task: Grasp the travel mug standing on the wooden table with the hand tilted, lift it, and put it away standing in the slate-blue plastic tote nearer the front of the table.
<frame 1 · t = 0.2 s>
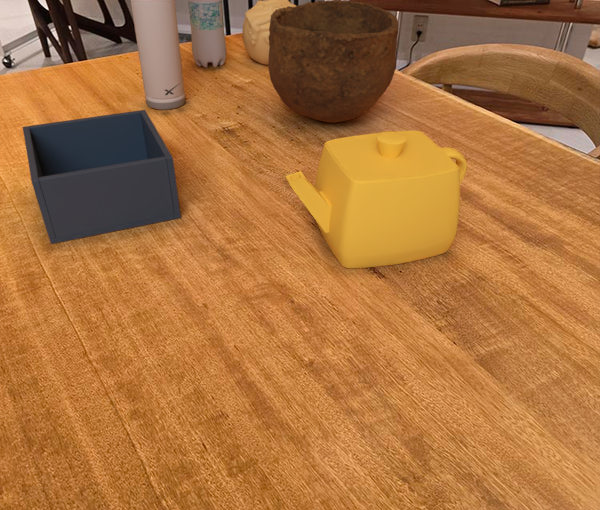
teapot: (372, 237, 66), on the table
bottle: (210, 65, 111), on the table
tote: (107, 200, 71), on the table
sculpture: (273, 61, 113), on the table
travel mug: (167, 104, 96), on the table
bowl: (329, 119, 92), on the table
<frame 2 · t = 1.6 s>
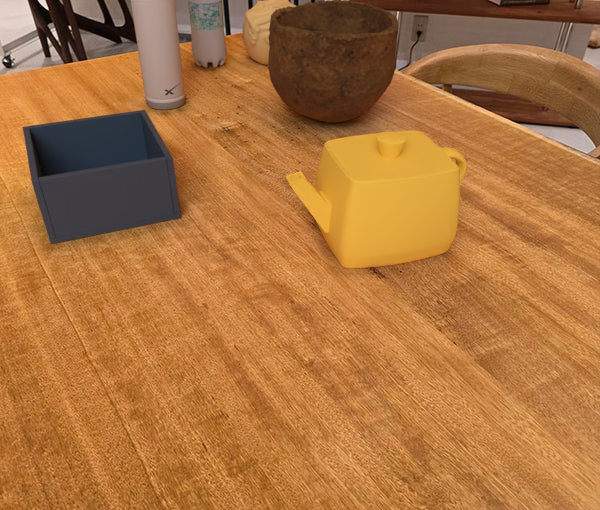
nothing on the table moved.
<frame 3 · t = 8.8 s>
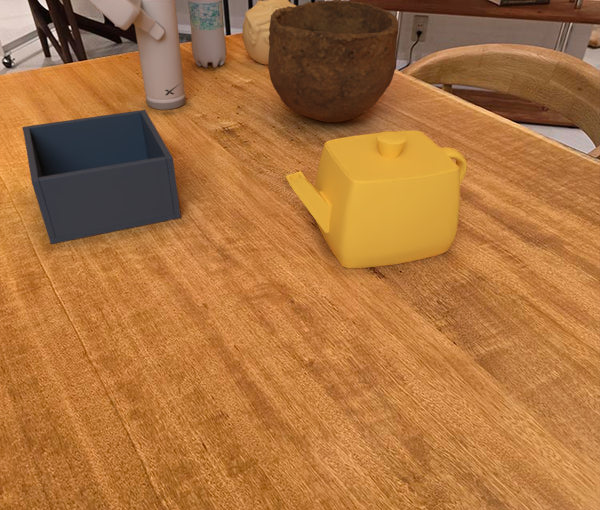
hand: (162, 27, 88), 11 cm above the table, tool tilted 45°, fingers closed on travel mug, 6 cm apart
travel mug: (167, 104, 96), on the table, touching gripper
everything else where it was.
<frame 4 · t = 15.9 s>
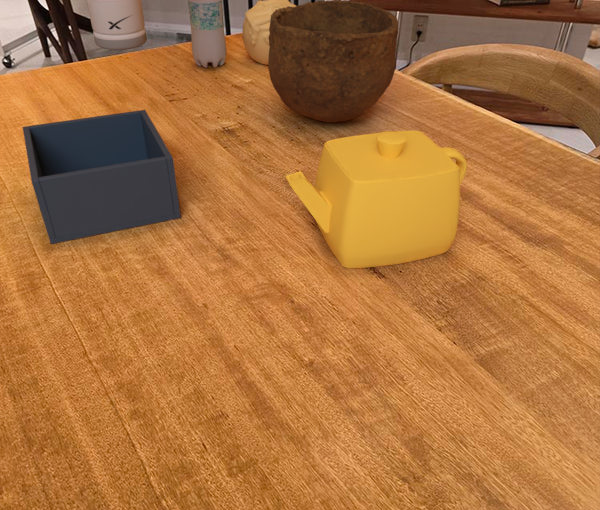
travel mug: (123, 44, 74), point 14 cm above the table, touching gripper
everything else where it was.
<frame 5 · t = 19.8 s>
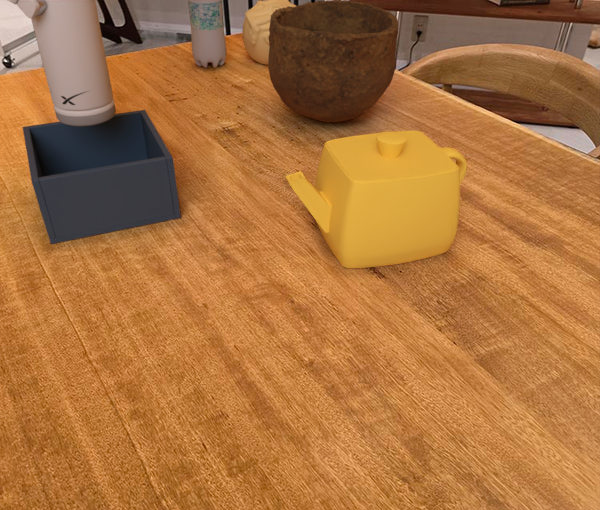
hand: (68, 3, 57), 22 cm above the table, tool tilted 45°, fingers closed on travel mug, 6 cm apart
travel mug: (88, 117, 65), point 10 cm above the table, touching gripper
everything else where it was.
when the fingers open (12 cm above the table, at t = 23.1 s): travel mug stays where it is, resting on tote.
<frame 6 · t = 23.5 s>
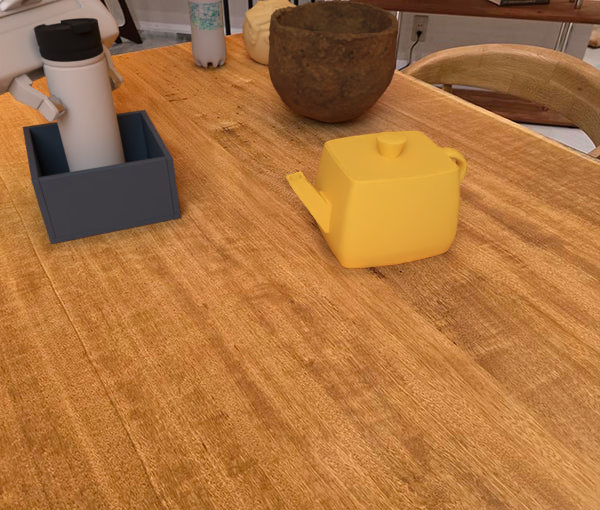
hand: (89, 101, 63), 12 cm above the table, tool tilted 45°, fingers open, 8 cm apart
travel mug: (105, 198, 71), resting on tote
everything else where it was.
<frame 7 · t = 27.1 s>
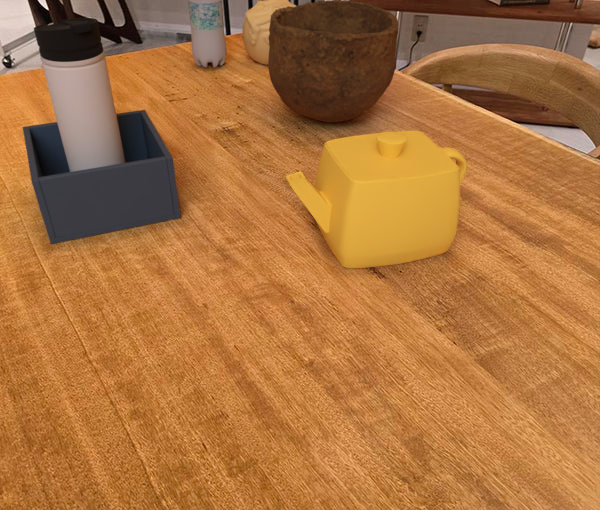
nothing on the table moved.
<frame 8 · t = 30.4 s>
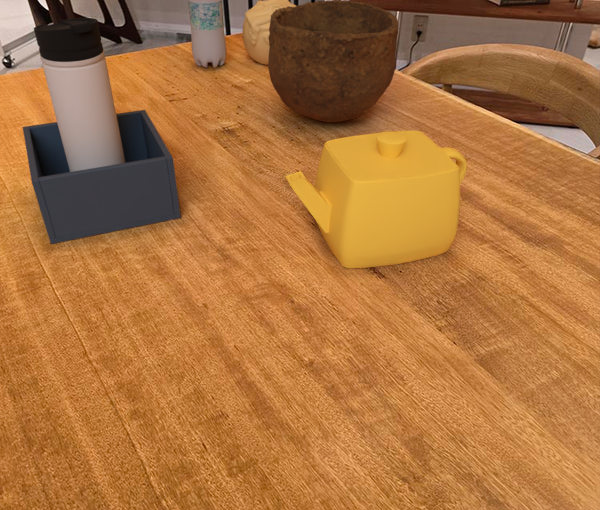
nothing on the table moved.
at the end: travel mug inside the target area in the tote (0.2 cm from its centre), point 0.4 cm above the tote's base; travel mug tilted 0°; the gripper is holding nothing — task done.
